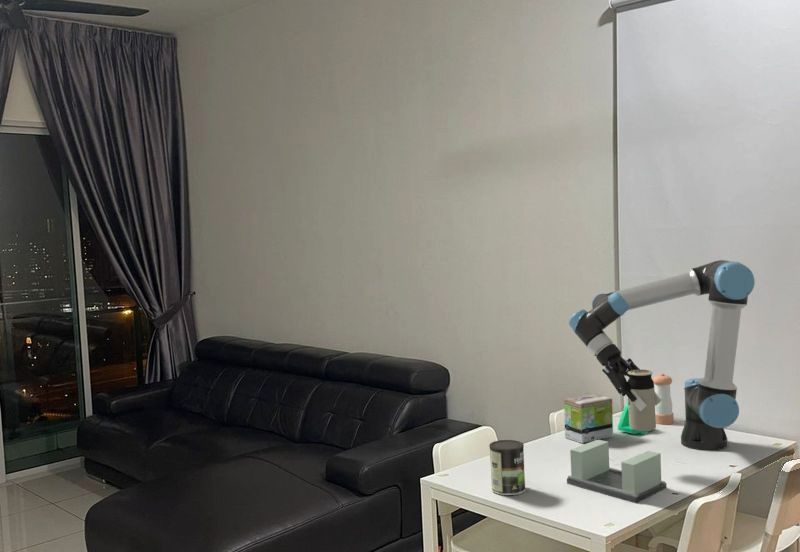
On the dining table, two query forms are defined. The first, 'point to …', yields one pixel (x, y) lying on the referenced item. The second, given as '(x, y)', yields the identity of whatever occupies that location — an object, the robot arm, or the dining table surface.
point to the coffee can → (507, 467)
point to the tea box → (588, 418)
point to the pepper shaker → (663, 399)
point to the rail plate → (613, 485)
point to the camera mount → (627, 422)
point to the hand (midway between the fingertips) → (651, 405)
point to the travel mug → (645, 390)
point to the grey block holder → (635, 470)
